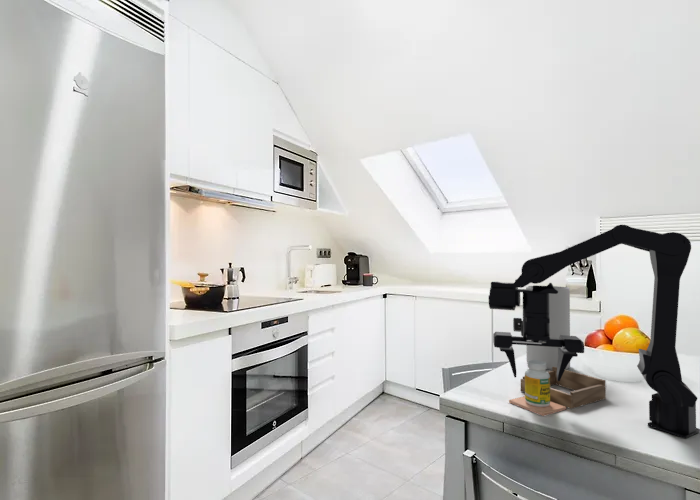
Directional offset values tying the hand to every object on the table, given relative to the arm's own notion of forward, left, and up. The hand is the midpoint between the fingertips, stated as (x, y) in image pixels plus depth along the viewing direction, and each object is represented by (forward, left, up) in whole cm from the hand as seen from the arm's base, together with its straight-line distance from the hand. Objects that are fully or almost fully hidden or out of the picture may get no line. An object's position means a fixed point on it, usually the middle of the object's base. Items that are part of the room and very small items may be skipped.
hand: (536, 378), depth 91 cm
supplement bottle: (0, 0, -6) cm, 6 cm away
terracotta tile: (0, 0, -6) cm, 6 cm away
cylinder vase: (+21, -34, -6) cm, 40 cm away
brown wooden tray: (+2, -12, -6) cm, 14 cm away
